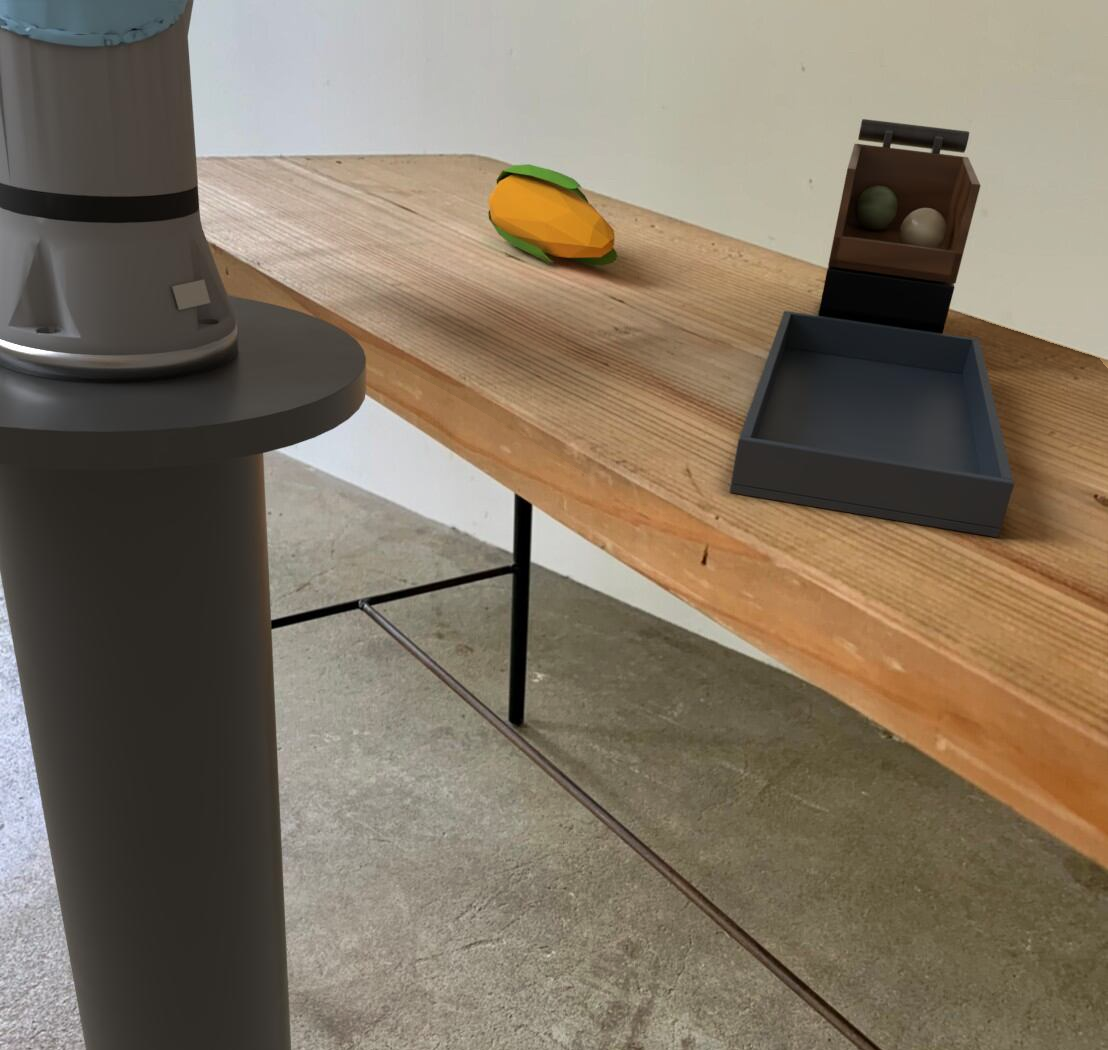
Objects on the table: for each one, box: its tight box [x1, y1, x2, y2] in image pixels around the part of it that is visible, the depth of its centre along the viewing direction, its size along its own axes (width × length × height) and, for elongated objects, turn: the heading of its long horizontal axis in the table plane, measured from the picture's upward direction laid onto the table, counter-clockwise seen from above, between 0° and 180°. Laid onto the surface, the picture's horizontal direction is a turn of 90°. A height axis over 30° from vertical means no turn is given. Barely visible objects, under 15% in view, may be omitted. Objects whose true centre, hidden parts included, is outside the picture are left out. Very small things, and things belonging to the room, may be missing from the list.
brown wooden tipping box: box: [827, 118, 981, 285], centre depth 94 cm, size 21×9×8 cm, turn 166°
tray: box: [729, 310, 1015, 538], centre depth 76 cm, size 31×14×3 cm, turn 166°
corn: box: [488, 163, 618, 266], centre depth 110 cm, size 7×8×20 cm
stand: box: [817, 265, 955, 334], centre depth 97 cm, size 17×9×6 cm, turn 166°
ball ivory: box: [899, 208, 947, 249], centre depth 91 cm, size 3×3×3 cm
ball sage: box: [855, 185, 898, 231], centre depth 99 cm, size 3×3×3 cm
